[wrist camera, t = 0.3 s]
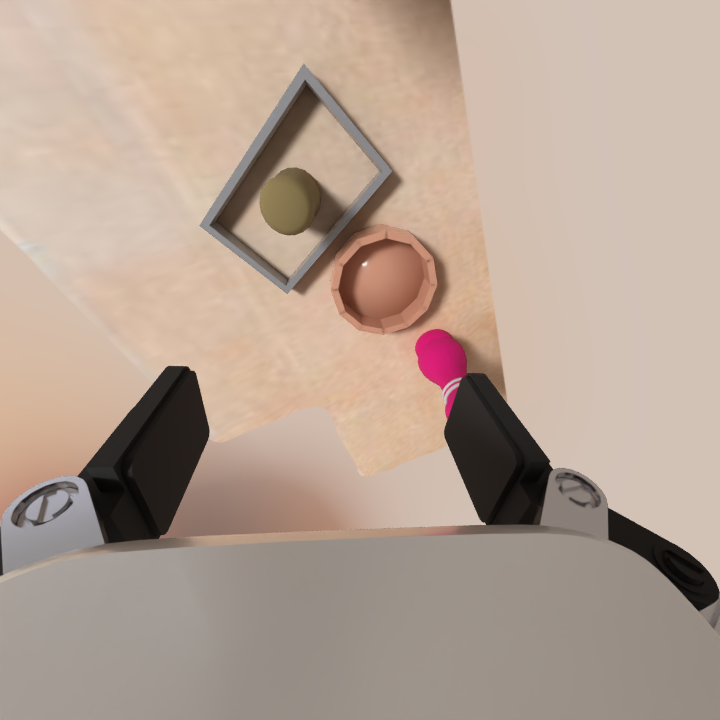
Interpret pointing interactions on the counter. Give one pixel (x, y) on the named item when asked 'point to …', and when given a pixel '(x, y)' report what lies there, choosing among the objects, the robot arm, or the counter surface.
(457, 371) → the pepper mill
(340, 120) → the grey rectangular frame
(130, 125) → the counter surface
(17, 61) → the counter surface
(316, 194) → the olive pestle
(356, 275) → the bowl
